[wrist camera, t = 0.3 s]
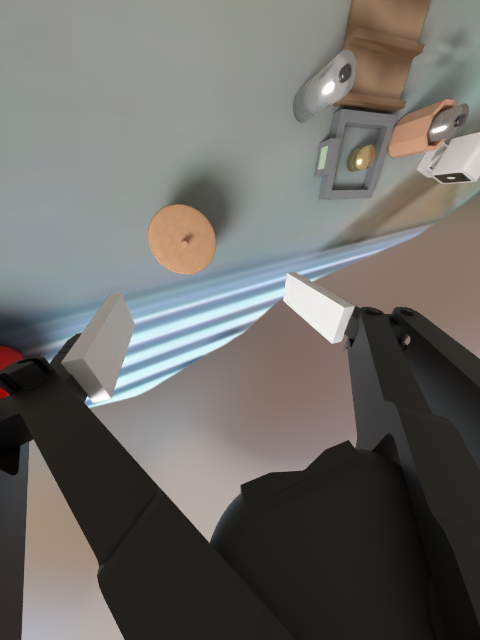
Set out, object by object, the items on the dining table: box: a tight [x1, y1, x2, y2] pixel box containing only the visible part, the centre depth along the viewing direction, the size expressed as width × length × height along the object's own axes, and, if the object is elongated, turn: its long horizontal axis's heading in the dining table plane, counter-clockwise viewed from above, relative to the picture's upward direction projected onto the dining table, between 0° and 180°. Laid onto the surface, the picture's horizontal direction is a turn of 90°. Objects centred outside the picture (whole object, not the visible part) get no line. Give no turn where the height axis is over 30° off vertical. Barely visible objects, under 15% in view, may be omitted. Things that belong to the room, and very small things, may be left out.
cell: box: [293, 50, 356, 122], centre depth 27 cm, size 4×4×10 cm
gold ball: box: [347, 145, 376, 172], centre depth 36 cm, size 4×4×3 cm
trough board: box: [333, 0, 430, 113], centre depth 29 cm, size 13×14×2 cm
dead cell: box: [427, 104, 469, 143], centre depth 34 cm, size 4×4×10 cm
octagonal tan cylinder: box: [388, 99, 456, 158], centre depth 35 cm, size 6×6×7 cm
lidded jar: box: [148, 204, 216, 274], centre depth 32 cm, size 11×11×9 cm
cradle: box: [315, 109, 397, 199], centre depth 36 cm, size 13×15×3 cm
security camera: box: [417, 132, 480, 184], centre depth 39 cm, size 6×7×10 cm
